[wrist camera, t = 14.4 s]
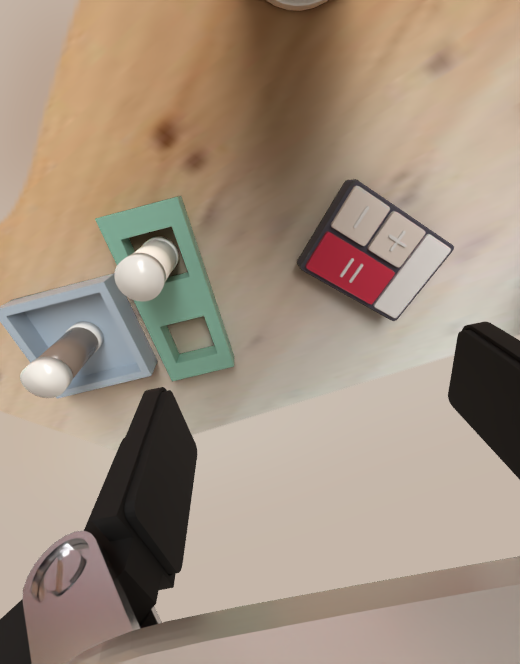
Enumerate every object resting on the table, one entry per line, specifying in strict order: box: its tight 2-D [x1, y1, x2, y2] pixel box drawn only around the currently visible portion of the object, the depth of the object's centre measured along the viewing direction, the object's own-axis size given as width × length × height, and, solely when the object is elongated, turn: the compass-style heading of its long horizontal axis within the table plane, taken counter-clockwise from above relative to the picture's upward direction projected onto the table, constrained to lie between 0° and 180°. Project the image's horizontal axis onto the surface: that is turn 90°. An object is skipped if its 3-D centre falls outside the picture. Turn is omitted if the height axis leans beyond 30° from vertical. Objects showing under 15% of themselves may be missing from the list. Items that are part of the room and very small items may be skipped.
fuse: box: [114, 236, 179, 301], centre depth 31 cm, size 4×4×10 cm
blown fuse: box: [20, 321, 104, 398], centre depth 34 cm, size 4×4×10 cm
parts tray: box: [0, 273, 158, 398], centre depth 38 cm, size 13×13×4 cm
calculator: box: [297, 179, 454, 321], centre depth 36 cm, size 11×4×15 cm
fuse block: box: [95, 196, 234, 381], centre depth 37 cm, size 22×9×2 cm, turn 13°
